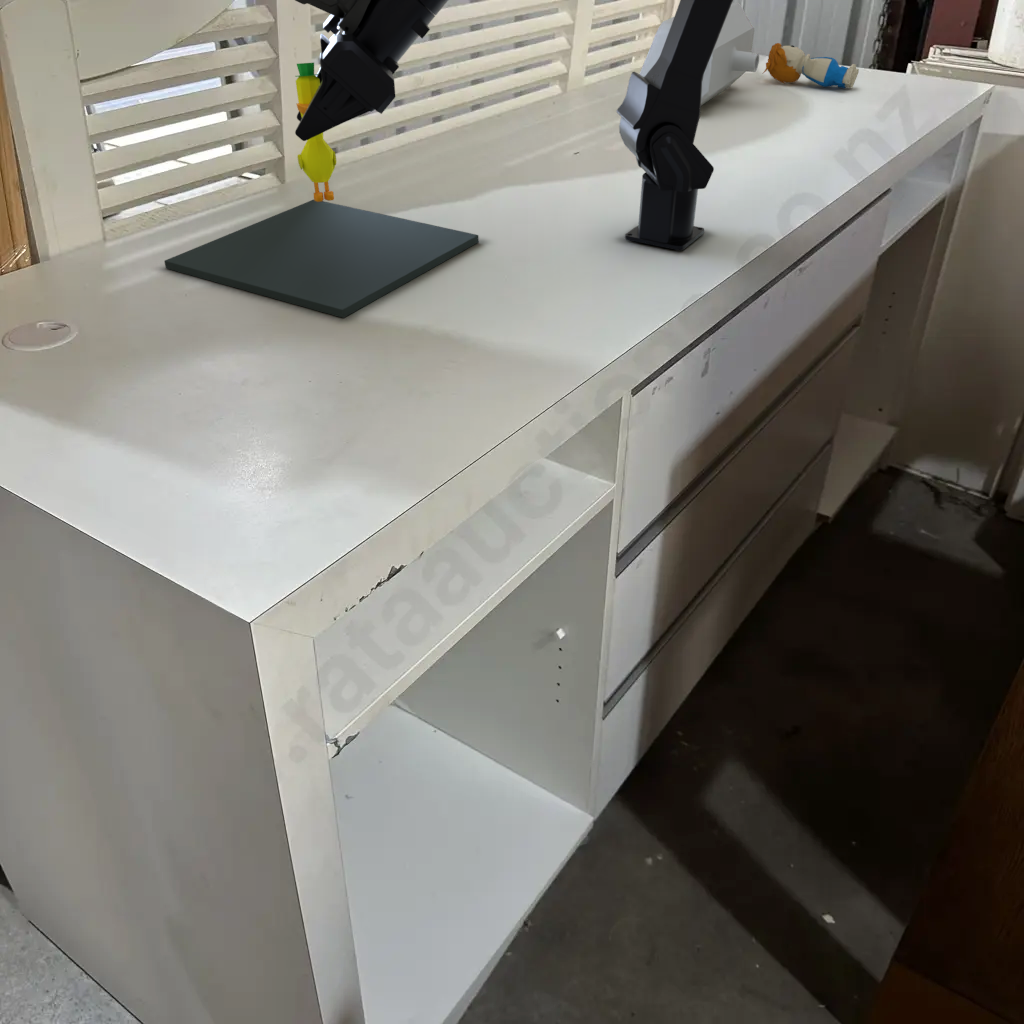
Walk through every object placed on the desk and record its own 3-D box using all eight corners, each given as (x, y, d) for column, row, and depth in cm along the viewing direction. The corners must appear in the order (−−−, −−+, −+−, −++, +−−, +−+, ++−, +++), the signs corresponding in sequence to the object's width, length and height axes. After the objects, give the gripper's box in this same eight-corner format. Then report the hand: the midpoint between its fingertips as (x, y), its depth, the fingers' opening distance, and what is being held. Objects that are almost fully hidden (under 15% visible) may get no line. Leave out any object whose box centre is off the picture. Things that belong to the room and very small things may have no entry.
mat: (343, 318, 83) (342, 309, 83) (165, 268, 92) (163, 260, 92) (478, 242, 99) (478, 234, 98) (314, 206, 108) (314, 198, 107)
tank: (726, 124, 138) (739, 29, 131) (623, 111, 144) (630, 20, 137) (771, 90, 156) (784, 5, 149) (677, 80, 162) (686, -3, 155)
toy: (854, 50, 149) (764, 30, 155) (839, 91, 151) (751, 69, 157) (864, 68, 160) (779, 48, 165) (850, 106, 162) (767, 85, 167)
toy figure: (348, 205, 90) (331, 66, 84) (310, 209, 89) (290, 69, 83) (336, 189, 95) (320, 57, 89) (300, 193, 95) (281, 60, 88)
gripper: (336, -93, 87) (233, 45, 92) (338, -76, 72) (215, 88, 77) (427, 2, 92) (326, 127, 97) (447, 36, 77) (326, 181, 82)
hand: (299, 129), depth 88 cm, fingers closed on toy figure, 5 cm apart
